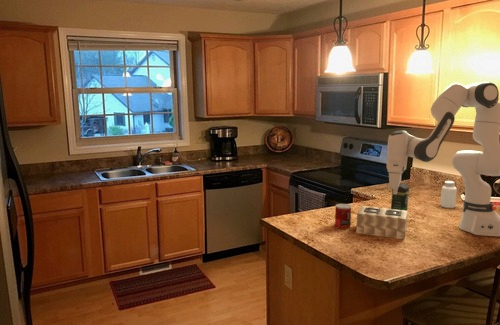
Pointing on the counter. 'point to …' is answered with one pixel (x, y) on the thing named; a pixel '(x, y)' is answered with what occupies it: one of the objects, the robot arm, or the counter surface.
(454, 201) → the pill bottle
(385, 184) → the counter surface
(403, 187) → the coffee jar
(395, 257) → the counter surface
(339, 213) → the canned food
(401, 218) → the socket block
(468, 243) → the counter surface
